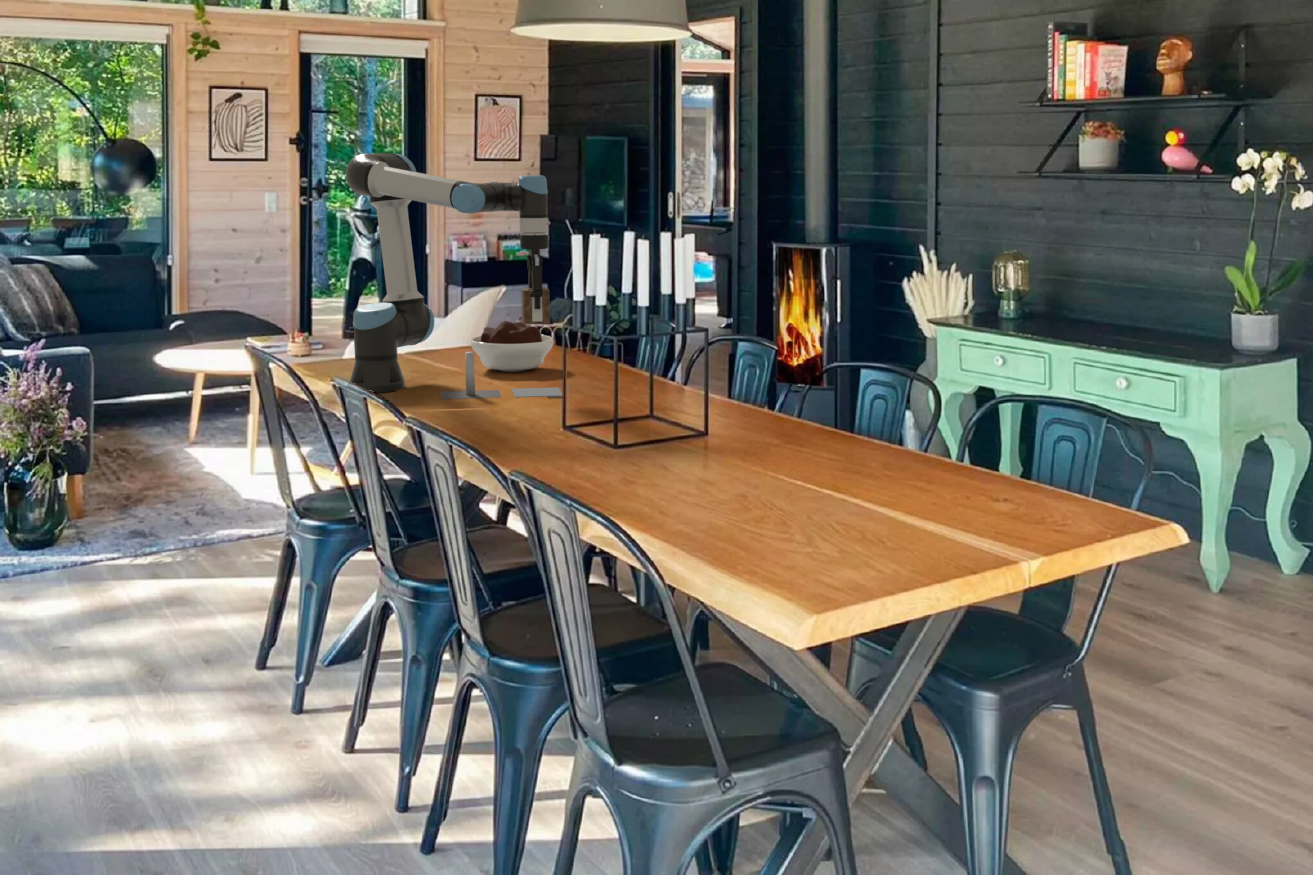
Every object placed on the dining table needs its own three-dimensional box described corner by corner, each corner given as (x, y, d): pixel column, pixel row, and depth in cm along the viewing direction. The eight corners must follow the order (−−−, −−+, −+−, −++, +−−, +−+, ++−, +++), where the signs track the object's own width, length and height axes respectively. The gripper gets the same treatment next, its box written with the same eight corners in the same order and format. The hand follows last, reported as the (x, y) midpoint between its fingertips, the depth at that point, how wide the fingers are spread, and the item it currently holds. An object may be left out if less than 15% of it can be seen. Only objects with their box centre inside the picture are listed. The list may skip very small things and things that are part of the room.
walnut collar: (524, 324, 378) (523, 290, 376) (521, 321, 384) (521, 288, 383) (550, 323, 379) (549, 290, 377) (547, 320, 386) (546, 287, 384)
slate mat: (515, 399, 378) (515, 396, 378) (511, 391, 391) (511, 388, 391) (563, 397, 381) (563, 395, 380) (558, 389, 393) (558, 387, 393)
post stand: (441, 401, 375) (440, 356, 373) (440, 393, 387) (438, 350, 384) (502, 399, 378) (501, 354, 376) (498, 391, 390) (497, 348, 387)
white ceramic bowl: (492, 362, 444) (491, 314, 441) (566, 366, 436) (565, 317, 433) (457, 374, 421) (455, 323, 418) (534, 378, 413) (533, 326, 410)
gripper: (552, 235, 368) (553, 323, 373) (544, 231, 387) (546, 315, 392) (523, 236, 367) (525, 324, 371) (517, 232, 386) (519, 315, 390)
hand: (536, 319), depth 381 cm, fingers closed on walnut collar, 7 cm apart
